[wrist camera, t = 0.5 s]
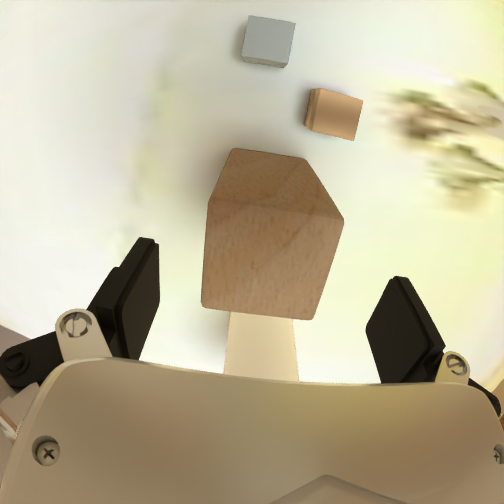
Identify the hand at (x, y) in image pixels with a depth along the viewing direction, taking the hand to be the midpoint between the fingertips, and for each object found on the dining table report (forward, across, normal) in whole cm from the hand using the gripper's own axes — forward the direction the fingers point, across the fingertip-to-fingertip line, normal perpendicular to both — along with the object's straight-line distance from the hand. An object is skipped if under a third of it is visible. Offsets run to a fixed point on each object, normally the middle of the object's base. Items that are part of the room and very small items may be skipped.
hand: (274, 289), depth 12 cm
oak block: (+30, -7, -6) cm, 32 cm away
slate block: (+31, +2, -13) cm, 33 cm away
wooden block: (+30, -1, +6) cm, 31 cm away
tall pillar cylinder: (+30, -5, +29) cm, 42 cm away
